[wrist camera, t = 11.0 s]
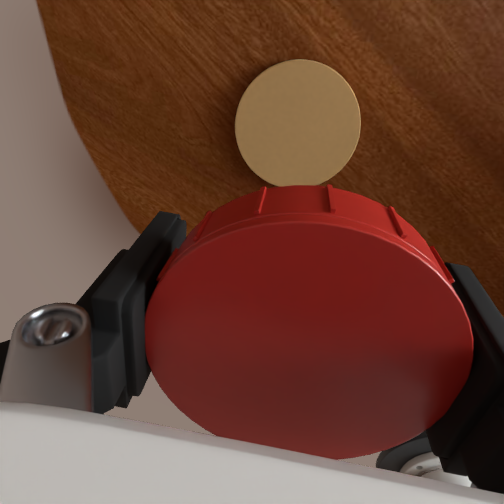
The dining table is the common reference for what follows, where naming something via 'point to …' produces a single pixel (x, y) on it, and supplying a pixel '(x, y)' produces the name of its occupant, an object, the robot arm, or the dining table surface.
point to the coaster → (297, 123)
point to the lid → (308, 324)
